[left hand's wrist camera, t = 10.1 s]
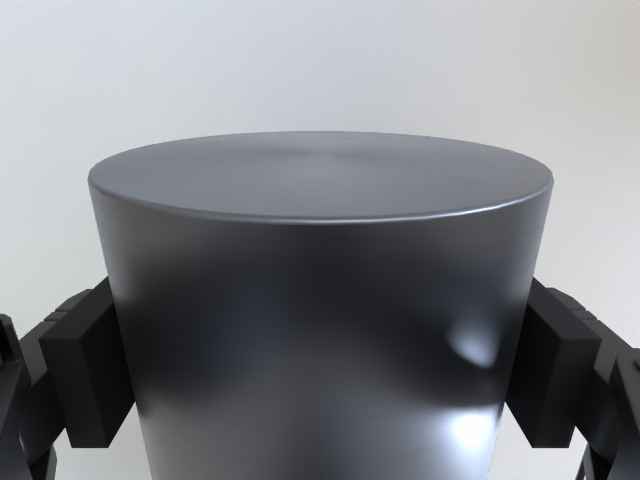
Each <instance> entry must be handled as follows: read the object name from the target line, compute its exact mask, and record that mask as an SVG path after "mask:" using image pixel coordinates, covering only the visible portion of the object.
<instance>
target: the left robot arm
mask: <svg viewBox="0 0 640 480" xmlns="http://www.w3.org/2000/svg"><path fill="white" fill-rule="evenodd" d="M134 402H135V397H134V392H133V388H132V383H131V378H130V374H129V369H128V365H127V360H126V355H125V351H124V346H123V341H122V337H121V332H120V328H119V323H118V318H117V314H116V309H115V305H114V300H113V295H112V291H111V286H110V282H109V277H108V276H107V277H106V278H105V279H104V280H103V281H102V282H101V283H99V284H98V285H97V286H96V287H95V288H94V289H86V290H84V291H82V292H80V293H78V294H77V295H75V296H73V297H71V298H69V299H67V300H66V301H65V302H64V303H63V304H61V305H60V306H59V307H58V308H57V309H56V310H55V312H52V313H51V314H50V315H48V316H47V317H46V318H45V319H44V322H40V323H39V324H38V325H37V326H36V327H34V328H33V329H32V330H31V331H30V332H28V333H27V334H26V335H25V336H24V337H23V338H21V339H20V340H19V341H18V338H17V335H16V332H15V329H14V326H13V323H12V320H11V317H9V316H7V315H5V314H0V480H54V478H55V471H56V464H57V457H56V452H55V449H54V446H53V443H54V441H55V440H56V439H57V437H58V436H59V435H60V433H61V432H62V431H63V429H64V428H66V431H67V434H68V437H69V441H70V444H71V447H72V448H108V447H109V445H110V444H111V442H112V440H113V438H114V437H115V435H116V433H117V432H118V430H119V428H120V426H121V425H122V423H123V421H124V420H125V418H126V416H127V414H128V413H129V411H130V409H131V408H132V406H133V404H134ZM505 402H506V404H507V405H508V407H509V409H510V411H511V412H512V414H513V416H514V417H515V419H516V421H517V423H518V424H519V426H520V428H521V429H522V431H523V433H524V435H525V436H526V438H527V440H528V441H529V443H530V445H531V447H532V448H569V445H570V442H571V438H572V435H573V432H574V429H575V426H576V427H577V428H578V430H579V431H580V432H581V434H582V435H583V436H584V438H585V439H586V440H587V442H588V443H587V446H586V449H585V452H584V455H583V458H582V461H581V464H580V467H579V470H578V473H577V476H576V479H575V480H585V479H586V480H640V349H638V348H632V347H631V346H630V345H628V344H627V343H626V342H625V341H624V340H622V339H621V338H620V337H619V336H618V335H616V334H615V333H614V332H613V331H612V330H611V329H609V328H608V327H607V326H606V325H605V324H603V323H602V322H601V321H600V320H597V318H596V317H595V316H594V315H593V314H592V313H590V312H589V311H586V308H584V307H583V306H582V305H581V304H580V303H579V302H577V301H576V300H575V299H574V298H573V297H571V296H569V295H567V294H565V293H563V292H561V291H559V290H557V289H555V288H545V287H544V286H543V285H542V284H541V283H540V282H539V281H538V280H536V279H535V278H534V277H533V278H532V282H531V287H530V291H529V296H528V300H527V305H526V309H525V314H524V318H523V323H522V327H521V331H520V336H519V340H518V345H517V349H516V354H515V358H514V363H513V367H512V372H511V376H510V381H509V385H508V390H507V394H506V399H505Z"/></svg>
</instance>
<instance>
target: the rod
mask: <svg viewBox="0 0 640 480" xmlns="http://www.w3.org/2000/svg"><path fill="white" fill-rule="evenodd" d="M553 184H554V179H553V176H552V172H551V170H550V169H549V168H548V167H547V166H546V165H544V164H542V163H540V162H539V161H537V160H535V159H533V158H530V157H528V156H525V155H523V154H520V153H516V152H513V151H510V150H506V149H502V148H498V147H494V146H489V145H484V144H479V143H473V142H466V141H460V140H453V139H445V138H436V137H427V136H417V135H405V134H390V133H372V132H340V131H296V132H264V133H245V134H231V135H219V136H209V137H199V138H191V139H183V140H176V141H170V142H164V143H159V144H153V145H148V146H144V147H140V148H136V149H132V150H128V151H125V152H122V153H119V154H116V155H114V156H111V157H109V158H106V159H104V160H103V161H101V162H99V163H97V164H96V165H95V166H94V167H93V168H92V169H91V170H90V172H89V177H88V185H89V189H90V194H91V199H92V203H93V208H94V212H95V217H96V222H97V226H98V231H99V235H100V240H101V245H102V249H103V254H104V259H105V263H106V268H107V272H108V277H109V282H110V286H111V291H112V295H113V300H114V305H115V309H116V314H117V318H118V323H119V328H120V332H121V337H122V341H123V346H124V351H125V355H126V360H127V365H128V369H129V374H130V378H131V383H132V388H133V392H134V397H135V401H136V406H137V411H138V415H139V420H140V424H141V429H142V434H143V438H144V443H145V447H146V452H147V457H148V461H149V466H150V471H151V475H152V480H487V479H488V475H489V470H490V466H491V461H492V457H493V452H494V448H495V443H496V439H497V434H498V430H499V425H500V421H501V416H502V412H503V407H504V403H505V399H506V394H507V390H508V385H509V381H510V376H511V372H512V367H513V363H514V358H515V354H516V349H517V345H518V340H519V336H520V331H521V327H522V323H523V318H524V314H525V309H526V305H527V300H528V296H529V291H530V287H531V282H532V278H533V273H534V269H535V264H536V260H537V255H538V251H539V246H540V242H541V238H542V233H543V229H544V224H545V220H546V215H547V211H548V206H549V202H550V197H551V193H552V188H553Z"/></svg>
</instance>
